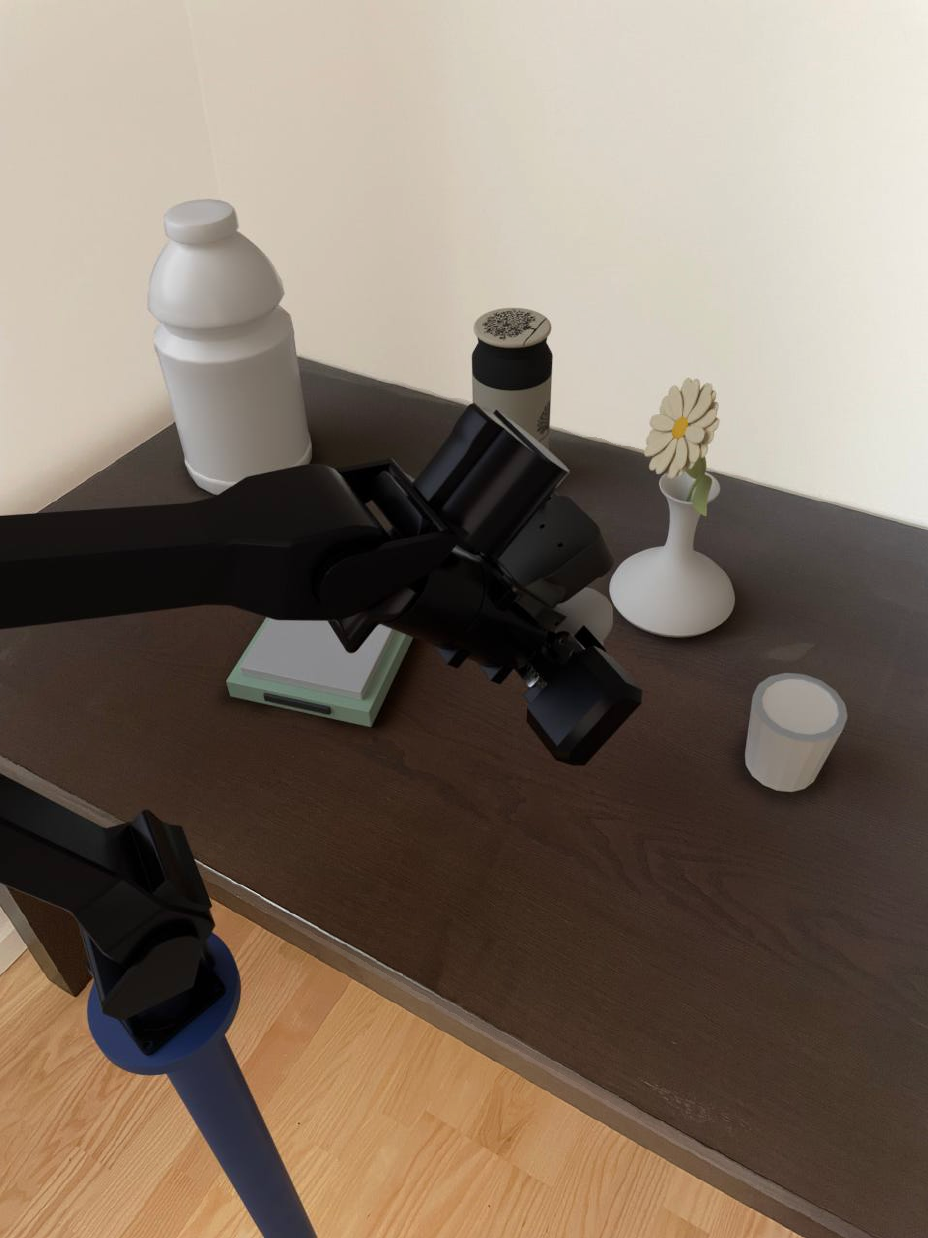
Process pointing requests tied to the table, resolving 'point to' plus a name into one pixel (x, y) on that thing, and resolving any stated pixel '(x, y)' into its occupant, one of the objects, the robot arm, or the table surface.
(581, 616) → the salt shaker
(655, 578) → the flower in vase
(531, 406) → the travel mug
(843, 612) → the table surface
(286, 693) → the scale
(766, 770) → the shot glass
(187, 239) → the bottle
